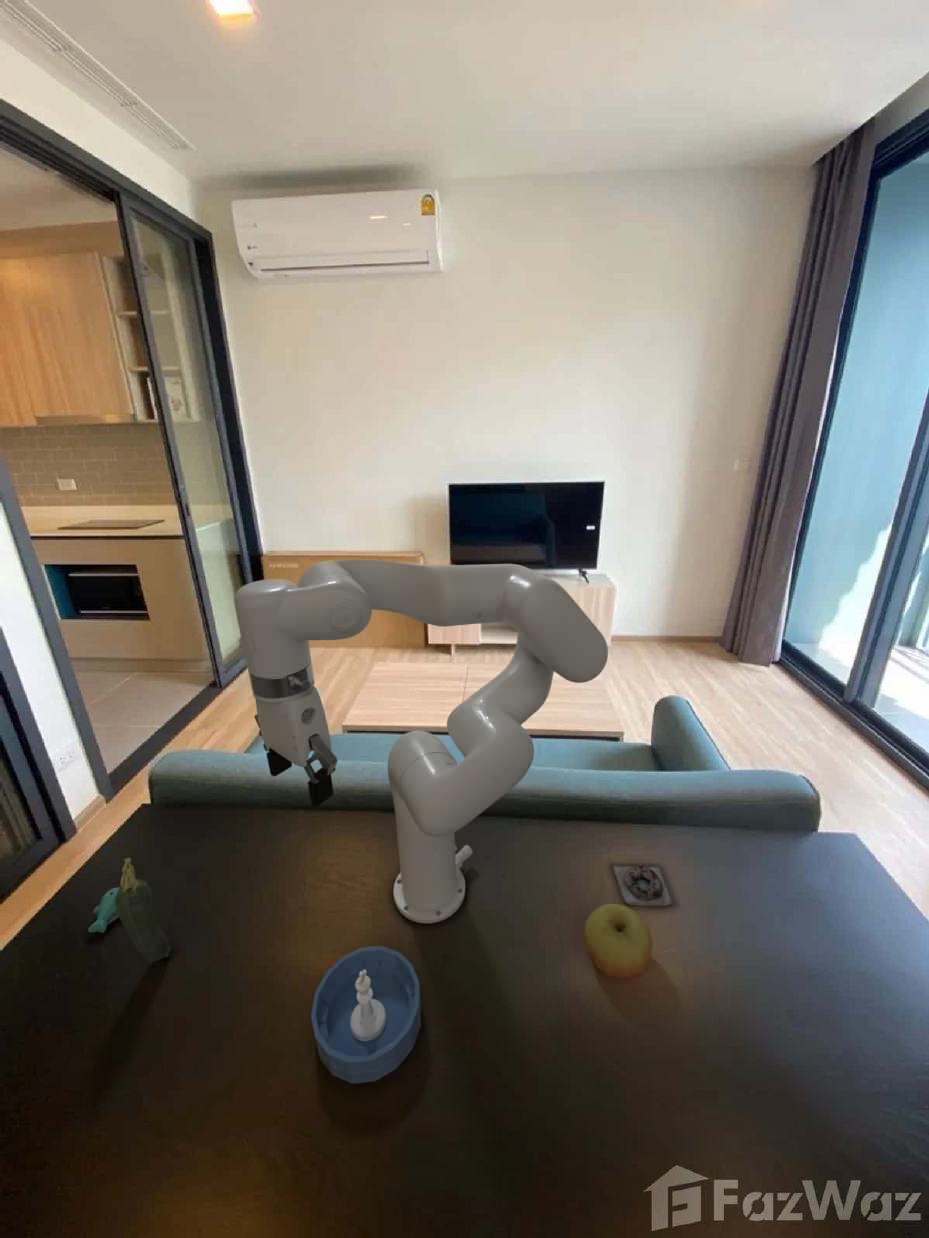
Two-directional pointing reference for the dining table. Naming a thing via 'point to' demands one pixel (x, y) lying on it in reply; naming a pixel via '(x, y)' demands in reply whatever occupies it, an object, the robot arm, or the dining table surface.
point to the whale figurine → (105, 912)
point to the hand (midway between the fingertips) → (301, 785)
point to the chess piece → (367, 1011)
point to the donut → (642, 886)
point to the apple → (618, 941)
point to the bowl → (338, 1001)
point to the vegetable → (140, 915)
